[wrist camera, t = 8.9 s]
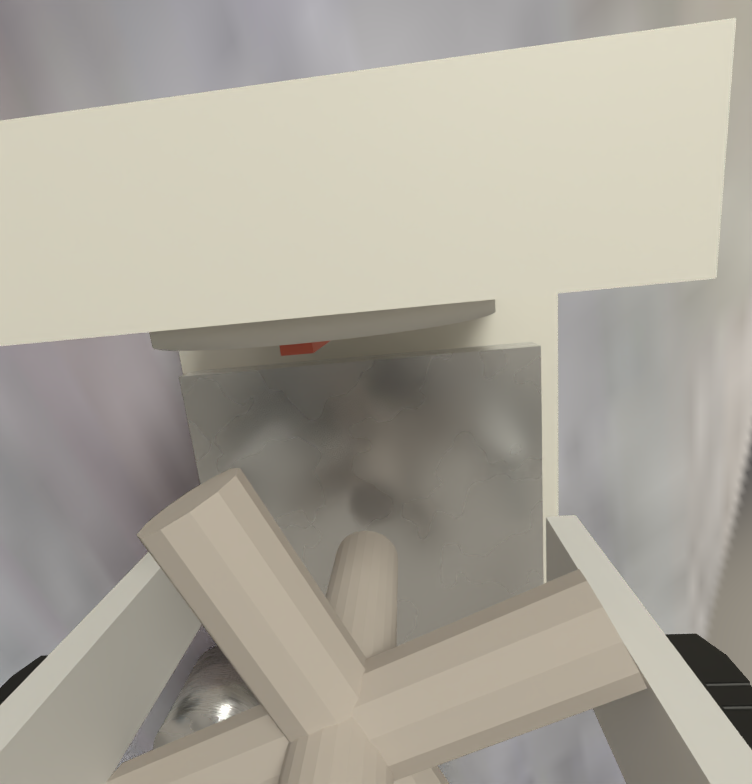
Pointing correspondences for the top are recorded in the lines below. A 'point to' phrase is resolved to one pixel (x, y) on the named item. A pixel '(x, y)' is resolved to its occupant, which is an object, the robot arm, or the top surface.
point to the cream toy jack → (361, 657)
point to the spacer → (206, 698)
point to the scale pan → (392, 465)
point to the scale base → (373, 205)
